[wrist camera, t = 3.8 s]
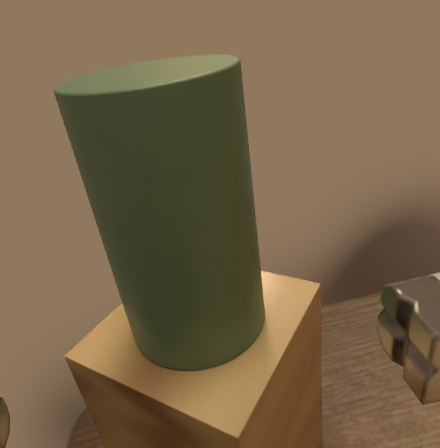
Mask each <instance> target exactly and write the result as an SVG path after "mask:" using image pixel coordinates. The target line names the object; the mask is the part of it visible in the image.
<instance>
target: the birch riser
mask: <svg viewBox="0 0 440 448" xmlns="http://www.w3.org/2000/svg"><path fill="white" fill-rule="evenodd" d="M261 277H262V287H263V297H264V307H265V320H264V324H263V327H262V330H261V332H260V333H259V335H258V337H257V338H256V340H255V341H254V342H253V343H252V344H251V345H250V347H249V348H248V349H246V350H245V351H244V352H243V353H241V354H240V355H238V356H237V357H235V358H234V359H232V360H230V361H227V362H225V363H223V364H220V365H218V366H215V367H211V368H207V369H201V370H188V371H185V370H175V369H170V368H166V367H163V366H160V365H158V364H156V363H154V362H152V361H150V360H149V359H148V358H146V357H145V356H144V355H143V354H142V353H141V352H140V350H139V349H138V347H137V345H136V343H135V340H134V337H133V334H132V331H131V328H130V325H129V322H128V319H127V316H126V313H125V309H124V306H123V303H121V304H120V305H119V306H118V307H117V308H116V309H115V310H114V311H113V312H112V313H110V314H109V315H108V316H107V317H106V318H105V319H104V320H103V321H102V322H101V323H99V324H98V325H97V326H96V327H95V328H94V329H93V330H92V331H91V332H90V333H89V334H88V335H86V336H85V337H84V338H83V339H82V340H81V341H80V342H79V343H78V344H77V345H76V346H75V347H74V348H72V349H71V350H70V351H69V352H68V353H67V354H66V355H65V356H64V357H65V359H66V361H67V363H68V366H69V368H70V370H71V372H72V374H73V377H74V379H75V381H76V383H77V385H78V388H79V390H80V392H81V394H82V396H83V398H84V401H85V403H86V405H87V407H88V410H89V412H90V414H91V416H92V418H93V421H94V423H95V425H96V427H97V429H98V432H99V434H100V436H101V438H102V440H103V442H104V445H105V447H106V448H320V447H321V444H322V387H321V284H319V283H315V282H311V281H306V280H302V279H297V278H293V277H288V276H284V275H280V274H275V273H271V272H267V271H262V270H261Z"/></svg>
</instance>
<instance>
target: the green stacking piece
mask: <svg viewBox="0 0 440 448" xmlns="http://www.w3.org/2000/svg"><path fill="white" fill-rule="evenodd" d="M54 94H55V96H56V100H57V103H58V106H59V109H60V112H61V115H62V118H63V121H64V124H65V127H66V130H67V134H68V137H69V140H70V143H71V146H72V149H73V152H74V155H75V158H76V161H77V164H78V167H79V170H80V174H81V177H82V180H83V183H84V186H85V189H86V192H87V195H88V198H89V202H90V205H91V208H92V211H93V214H94V217H95V220H96V223H97V226H98V229H99V232H100V235H101V239H102V242H103V245H104V247H105V251H106V254H107V257H108V260H109V263H110V266H111V269H112V272H113V276H114V278H115V282H116V284H117V288H118V291H119V294H120V297H121V300H122V303H123V306H124V309H125V313H126V316H127V319H128V322H129V325H130V328H131V331H132V334H133V337H134V340H135V343H136V345H137V347H138V349H139V350H140V352H141V353H142V354H143V355H144V356H145V357H146V358H148V359H149V360H150V361H152V362H154V363H156V364H158V365H160V366H163V367H166V368H170V369H175V370H185V371H188V370H201V369H207V368H211V367H215V366H218V365H220V364H223V363H225V362H227V361H230V360H232V359H234V358H235V357H237V356H238V355H240V354H241V353H243V352H244V351H245V350H246V349H248V348H249V347H250V345H251V344H252V343H253V342H254V341H255V340H256V338H257V337H258V335H259V333H260V332H261V330H262V327H263V324H264V320H265V307H264V297H263V287H262V277H261V267H260V257H259V246H258V236H257V226H256V216H255V206H254V196H253V185H252V176H251V165H250V155H249V144H248V134H247V124H246V114H245V104H244V93H243V84H242V73H241V63H240V60H239V58H238V57H235V56H231V55H221V54H220V55H219V54H215V55H214V54H213V55H212V54H211V55H193V56H182V57H174V58H166V59H158V60H152V61H145V62H139V63H134V64H129V65H123V66H118V67H113V68H109V69H105V70H100V71H96V72H92V73H89V74H85V75H82V76H79V77H75V78H72V79H70V80H67V81H65V82H63V83H61V84H59V85H58V86H56V87H55V89H54Z"/></svg>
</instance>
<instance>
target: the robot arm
mask: <svg viewBox="0 0 440 448" xmlns="http://www.w3.org/2000/svg"><path fill="white" fill-rule="evenodd" d="M379 301H380V302H381V304H382V305H383V306H384V309H383V310H382V312H381V313H380V314H379V315H378V318H377V330H378V335H379V339H380V342H381V344H382V346H383V348H384V350H385V352H386V353H387V355H388V356H389V358H390V359H391V360H392V361H394V362H396V363H398V364H399V365H401V366H403V367H404V372H403V378H404V379H405V381H406V382H407V384H408V385H409V387H410V388H411V389H412V391H413V392H414V394H415V395H416V396H417V398H418V399H419V401H420V402H421V403H422V405H424V404H429V403H434V402H439V401H440V273H436V274H432V275H428V276H424V277H419V278H415V279H410V280H405V281H401V282H396V283H392V284H387V285H383V287H382V288H381V290H380V296H379ZM9 430H10V415H9V411H8V408H7V405H6V403H5V402H4V400H3V398H1V397H0V448H5V446H6V443H7V440H8V436H9V432H10V431H9Z"/></svg>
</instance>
